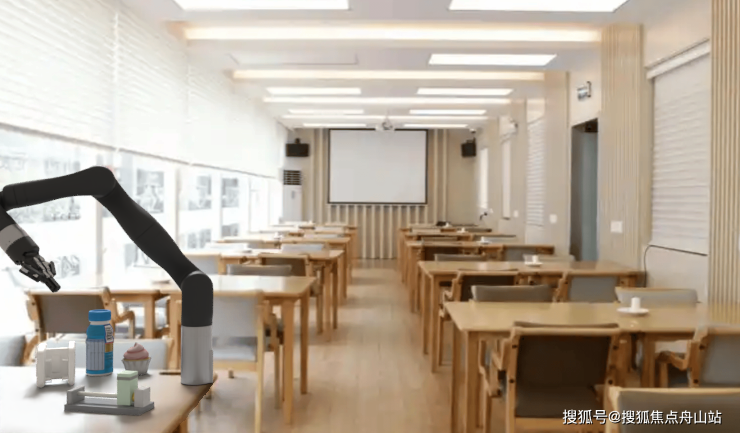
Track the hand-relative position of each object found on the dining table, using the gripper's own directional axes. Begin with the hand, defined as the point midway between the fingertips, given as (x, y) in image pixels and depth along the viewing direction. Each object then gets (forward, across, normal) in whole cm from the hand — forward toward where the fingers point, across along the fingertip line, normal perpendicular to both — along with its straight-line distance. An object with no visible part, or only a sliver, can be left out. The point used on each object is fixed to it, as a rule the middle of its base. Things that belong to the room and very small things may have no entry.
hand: (57, 290), depth 204 cm
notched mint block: (+37, -5, +3) cm, 37 cm away
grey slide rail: (+35, -5, +8) cm, 36 cm away
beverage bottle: (+16, +32, +26) cm, 44 cm away
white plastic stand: (+13, +17, +30) cm, 37 cm away
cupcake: (+24, +35, +18) cm, 46 cm away
